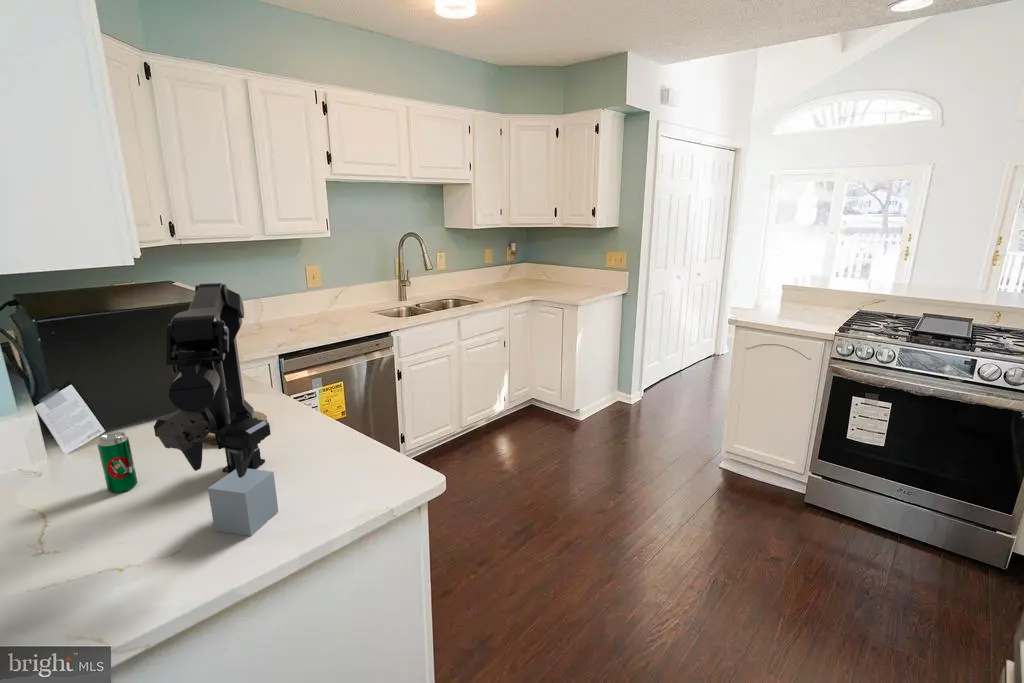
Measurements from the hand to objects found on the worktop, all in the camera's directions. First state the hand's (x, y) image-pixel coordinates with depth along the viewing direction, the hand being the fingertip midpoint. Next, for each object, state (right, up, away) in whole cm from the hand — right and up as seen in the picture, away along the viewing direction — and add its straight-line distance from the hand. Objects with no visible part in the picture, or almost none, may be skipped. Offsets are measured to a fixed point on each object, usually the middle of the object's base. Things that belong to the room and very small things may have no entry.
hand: (219, 473), depth 87 cm
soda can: (-31, -8, +19) cm, 37 cm away
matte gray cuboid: (+1, -11, +8) cm, 14 cm away
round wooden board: (-23, -2, +45) cm, 51 cm away
